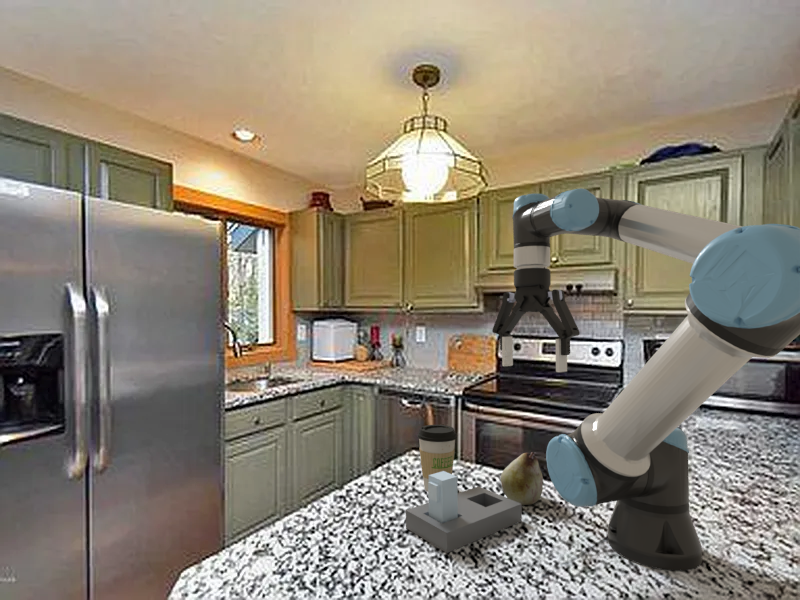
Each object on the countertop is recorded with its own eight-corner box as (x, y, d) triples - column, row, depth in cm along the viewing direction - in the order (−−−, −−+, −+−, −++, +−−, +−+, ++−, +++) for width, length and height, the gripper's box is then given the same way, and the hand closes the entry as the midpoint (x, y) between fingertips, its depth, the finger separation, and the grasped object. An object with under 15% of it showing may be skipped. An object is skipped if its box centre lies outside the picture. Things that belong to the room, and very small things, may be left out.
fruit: (540, 514, 98) (539, 458, 98) (497, 507, 101) (496, 453, 102) (545, 497, 107) (544, 445, 107) (505, 490, 111) (504, 441, 111)
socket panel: (521, 523, 93) (521, 503, 93) (446, 555, 80) (446, 532, 81) (478, 504, 103) (478, 486, 103) (405, 530, 90) (405, 510, 90)
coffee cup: (455, 499, 105) (455, 434, 106) (414, 496, 107) (414, 432, 108) (458, 484, 115) (458, 425, 115) (420, 481, 117) (420, 423, 117)
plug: (457, 533, 88) (457, 476, 88) (439, 541, 85) (439, 481, 85) (443, 526, 91) (443, 470, 91) (425, 533, 88) (425, 475, 88)
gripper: (596, 264, 88) (598, 373, 88) (498, 274, 108) (499, 362, 108) (575, 261, 84) (577, 376, 83) (476, 272, 104) (477, 364, 103)
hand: (533, 368), depth 95 cm, fingers open, 13 cm apart
